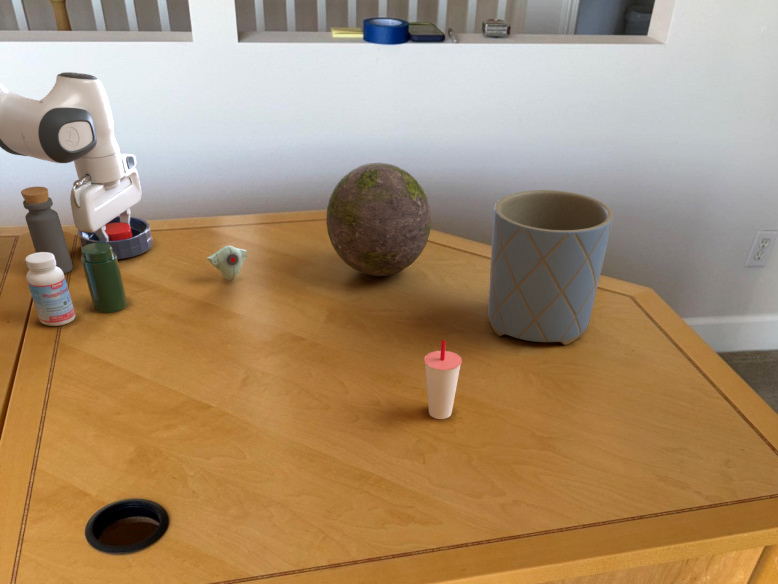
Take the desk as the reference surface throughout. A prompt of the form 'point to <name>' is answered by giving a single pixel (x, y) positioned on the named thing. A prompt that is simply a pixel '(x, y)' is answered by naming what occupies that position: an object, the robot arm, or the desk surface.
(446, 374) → the cup
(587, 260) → the planter
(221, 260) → the robot head
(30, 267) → the pill bottle
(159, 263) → the desk surface
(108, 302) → the green jar
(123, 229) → the cap
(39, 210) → the bottle
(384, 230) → the decorative stone
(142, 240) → the bowl
